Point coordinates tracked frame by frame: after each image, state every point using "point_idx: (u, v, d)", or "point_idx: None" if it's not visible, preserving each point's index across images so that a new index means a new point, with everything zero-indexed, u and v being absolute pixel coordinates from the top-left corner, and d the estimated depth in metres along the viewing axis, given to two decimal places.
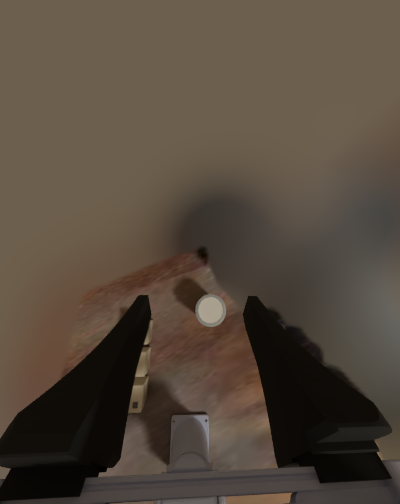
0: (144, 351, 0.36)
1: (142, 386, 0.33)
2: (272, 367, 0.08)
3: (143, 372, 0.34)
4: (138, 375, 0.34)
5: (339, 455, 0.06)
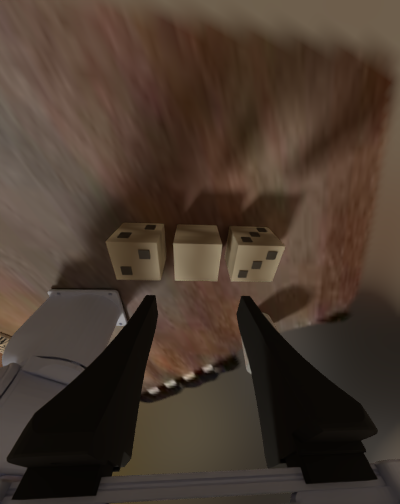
0: None
1: (158, 278, 0.17)
2: (263, 367, 0.08)
3: (182, 278, 0.17)
4: (176, 271, 0.17)
5: (325, 456, 0.06)
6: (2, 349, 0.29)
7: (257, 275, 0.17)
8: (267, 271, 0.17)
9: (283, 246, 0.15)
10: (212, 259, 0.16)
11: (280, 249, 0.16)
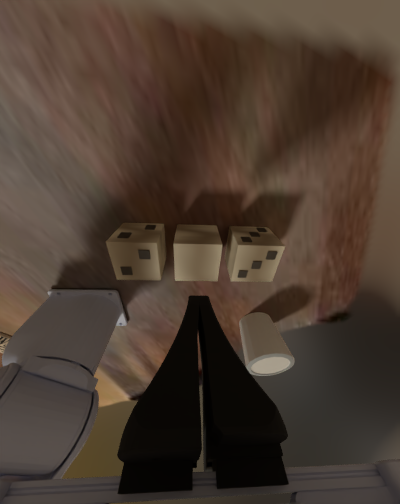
0: None
1: (158, 278, 0.17)
2: (204, 368, 0.08)
3: (182, 279, 0.17)
4: (177, 272, 0.17)
5: (240, 460, 0.05)
6: (2, 349, 0.29)
7: (257, 275, 0.17)
8: (267, 271, 0.17)
9: (283, 246, 0.15)
10: (212, 259, 0.16)
11: (280, 249, 0.16)
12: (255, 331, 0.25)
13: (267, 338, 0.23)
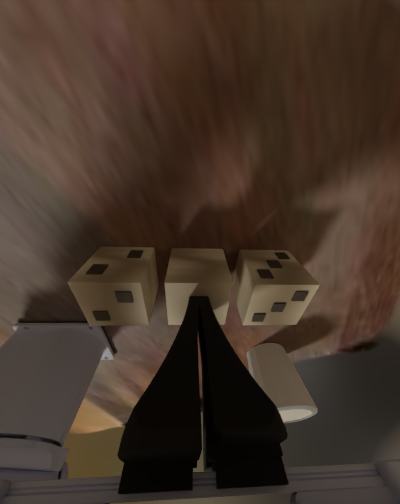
0: None
1: (146, 323, 0.13)
2: (204, 368, 0.08)
3: (178, 323, 0.13)
4: (170, 315, 0.12)
5: (240, 460, 0.05)
6: None
7: (278, 318, 0.13)
8: (291, 313, 0.13)
9: (317, 285, 0.11)
10: (218, 301, 0.12)
11: (312, 288, 0.11)
12: (268, 370, 0.20)
13: (283, 382, 0.19)
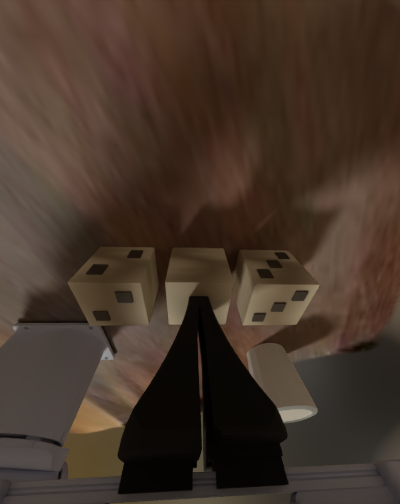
0: None
1: (146, 323, 0.13)
2: (204, 368, 0.08)
3: (178, 322, 0.13)
4: (171, 314, 0.12)
5: (240, 460, 0.05)
6: None
7: (278, 318, 0.13)
8: (291, 313, 0.13)
9: (317, 284, 0.11)
10: (219, 300, 0.12)
11: (312, 288, 0.11)
12: (268, 370, 0.20)
13: (283, 382, 0.19)
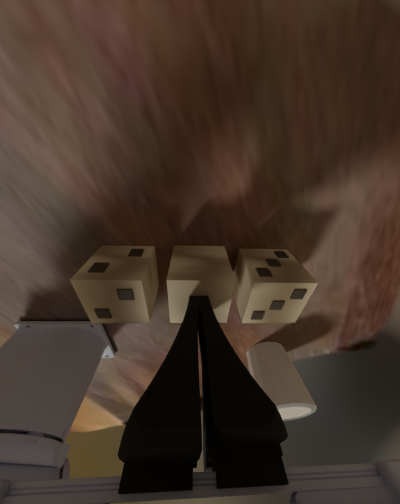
0: None
1: (147, 320, 0.13)
2: (204, 368, 0.08)
3: (179, 320, 0.13)
4: (172, 313, 0.12)
5: (240, 460, 0.05)
6: None
7: (276, 316, 0.13)
8: (290, 311, 0.13)
9: (315, 283, 0.11)
10: (220, 299, 0.12)
11: (310, 286, 0.11)
12: (267, 368, 0.21)
13: (283, 379, 0.19)
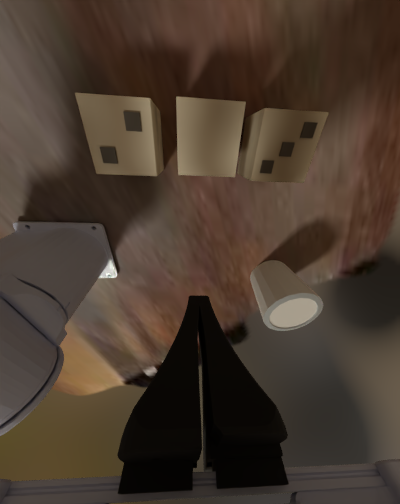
0: None
1: (154, 173, 0.13)
2: (204, 368, 0.08)
3: (187, 172, 0.13)
4: (181, 157, 0.12)
5: (240, 460, 0.05)
6: None
7: (286, 170, 0.13)
8: (299, 162, 0.13)
9: (326, 113, 0.11)
10: (230, 133, 0.11)
11: (321, 118, 0.11)
12: (272, 276, 0.20)
13: (289, 280, 0.19)
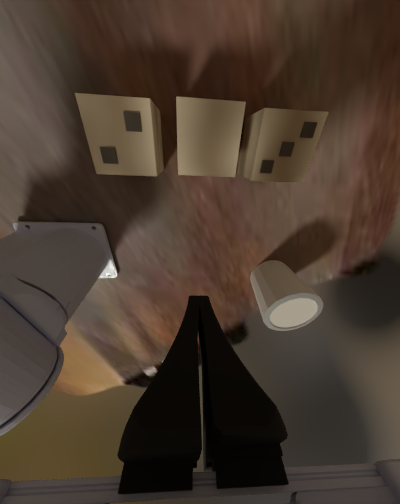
0: None
1: (154, 173, 0.13)
2: (204, 368, 0.08)
3: (187, 172, 0.13)
4: (181, 157, 0.12)
5: (240, 460, 0.05)
6: None
7: (286, 169, 0.13)
8: (300, 161, 0.13)
9: (326, 112, 0.11)
10: (230, 133, 0.11)
11: (321, 118, 0.11)
12: (272, 276, 0.20)
13: (289, 280, 0.19)
